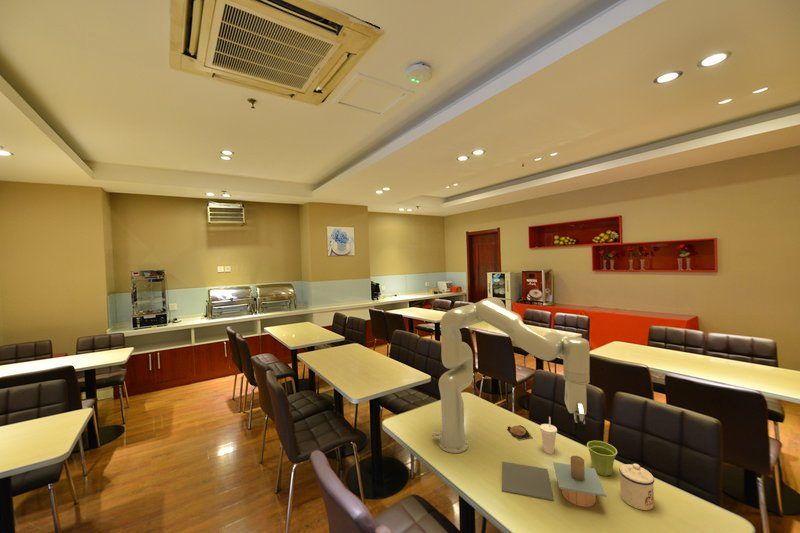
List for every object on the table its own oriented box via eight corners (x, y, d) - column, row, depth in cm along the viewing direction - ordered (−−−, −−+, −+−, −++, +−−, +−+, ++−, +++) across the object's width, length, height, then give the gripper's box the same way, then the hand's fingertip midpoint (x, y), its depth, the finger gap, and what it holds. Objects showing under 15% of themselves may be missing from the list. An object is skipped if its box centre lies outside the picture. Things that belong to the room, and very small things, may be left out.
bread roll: (534, 439, 140) (534, 431, 140) (517, 442, 139) (516, 433, 139) (521, 427, 151) (521, 419, 151) (504, 429, 149) (504, 421, 149)
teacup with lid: (652, 516, 97) (652, 478, 97) (617, 501, 103) (616, 465, 103) (657, 494, 106) (656, 459, 106) (623, 482, 112) (623, 449, 112)
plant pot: (618, 483, 112) (617, 458, 112) (586, 474, 117) (586, 450, 116) (616, 467, 120) (616, 444, 119) (587, 460, 125) (587, 438, 124)
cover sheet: (559, 488, 102) (558, 468, 102) (553, 463, 114) (553, 445, 114) (606, 496, 98) (605, 475, 98) (594, 470, 110) (594, 451, 110)
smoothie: (559, 456, 127) (558, 421, 127) (542, 455, 128) (541, 420, 128) (555, 447, 133) (554, 414, 133) (538, 445, 135) (538, 412, 135)
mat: (502, 491, 109) (502, 490, 109) (502, 462, 124) (502, 461, 124) (553, 501, 104) (553, 499, 104) (547, 470, 119) (547, 468, 119)
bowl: (564, 503, 103) (564, 486, 103) (559, 482, 112) (559, 467, 112) (598, 509, 100) (598, 492, 100) (590, 488, 109) (590, 472, 109)
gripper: (559, 365, 115) (559, 412, 115) (568, 384, 99) (568, 439, 99) (582, 367, 113) (582, 415, 113) (596, 387, 96) (596, 443, 97)
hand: (576, 426), depth 106 cm, fingers open, 9 cm apart
